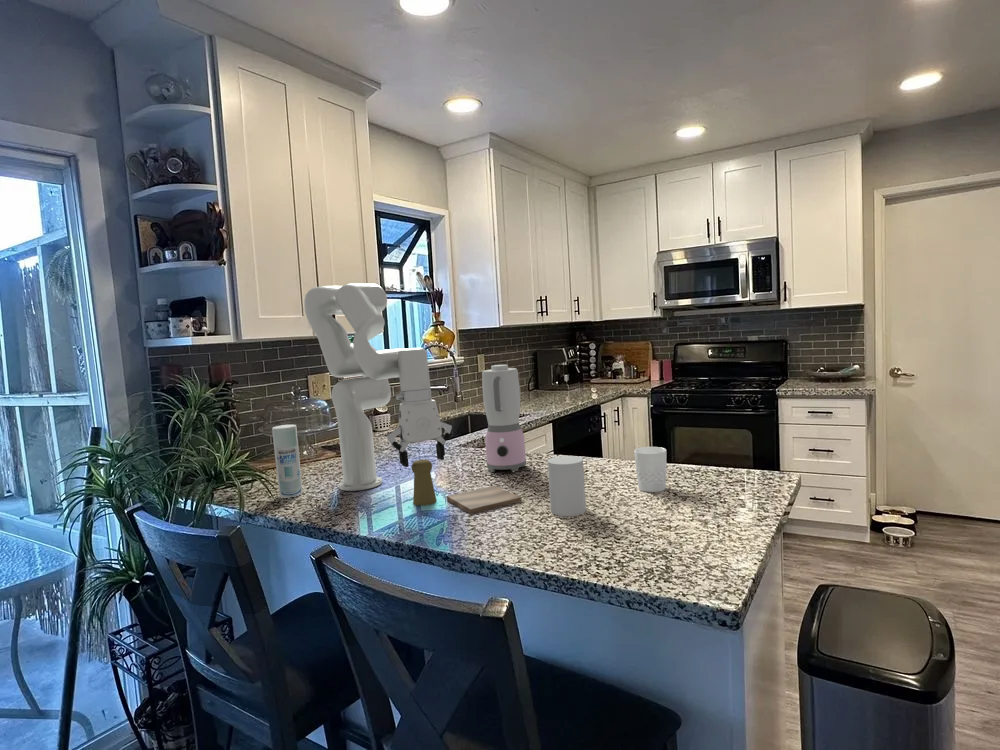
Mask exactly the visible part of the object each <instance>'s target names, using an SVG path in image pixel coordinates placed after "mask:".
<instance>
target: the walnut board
mask: <svg viewBox="0 0 1000 750" xmlns="http://www.w3.org/2000/svg"><path fill="white" fill-rule="evenodd" d="M446 501H447V502H449V503H451V505H454V506H456V507H458V508H460V509H461V510H463V511H464V512H466V513H468V514H470V515H472V514H477V513H481V511H482V512H484V511H485V510H486V511H490V510H494V509H497V508H496V507H498V508H501V506H503V507H505V505H507V506H510V505H509V504H511V505H514V504H513V503H515V504H518V503H517V502H519V503H522V497H521V496H520V495H518V494H514V493H513V492H510V491H508V490H506V489H503V488H501V487H500V486H496V485H491V486H486V487H482V488H477V489H473V490H468V491H463V492H459V493H454V494H450V495H446ZM493 508H494V509H493ZM489 509H490V510H489Z"/></svg>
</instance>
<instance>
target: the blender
mask: <svg viewBox="0 0 1000 750" xmlns="http://www.w3.org/2000/svg"><path fill="white" fill-rule="evenodd" d="M490 367H491V368H490V369H486V370H485V369H484V370H483V371H482V372H481V377H482V378H481V379H482V385H481V387H482V398H483V406H484V412H485V416H486V420H487V424H488V425H487V431H486V433H485V436H484V441H485V442H484V443H485V453H486V454H485V456H486V467H487V468H488V470H489V471H488V472H490V471H491V472H490V473H492V472H494V473H495V472H496V470H510V471H512V472H513V471H518V472H519V468H521V467H524V466H526V465H527V459H526V442H525V435H524V432H523V429H522V428H521V425H520V411H521V389H520V388H521V387H520V379H519V371H518V369H517V368H516V367H515V368H514V367H510V368H509V365H508V364H495V365H491V366H490ZM512 472H511V473H512Z"/></svg>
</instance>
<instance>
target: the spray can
mask: <svg viewBox="0 0 1000 750" xmlns="http://www.w3.org/2000/svg"><path fill="white" fill-rule="evenodd" d="M297 430H298V429H297V424H282V425H275V426H273V427H272V428H271V434H272V441H273V442H272V443H273V451H274V458H275V467H276V468H275V469H276V476H277V485H278V486H277V487H278V494H279V498H280V497H282V498H281V499H283V498H288V499H291V498H290V497H295V498H297V497H296V496H298V497H300V496H299V495H301V494H302V495H303V493H304V492H303V484H302V471H301V462H300V449H299V440H298V431H297ZM302 495H301V496H302Z"/></svg>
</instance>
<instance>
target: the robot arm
mask: <svg viewBox="0 0 1000 750" xmlns="http://www.w3.org/2000/svg"><path fill="white" fill-rule="evenodd" d="M387 305H388V297H387V293H386V291H385V290H384V288H383V287H382V286H380V285H378V284H376V283H346V284H343V285H323V286H321V285H320V286H316V287H312V288H311V289H309V290H308V291H307V292H306V294H305V297H304V312H305V316H306V318H307V321H308V323H309V325H310V327H311V329H312V330H313V332H314V334H315V336H316V338H317V340H318V343H319V346H320V349H321V352H322V355H323V358H324V362H325V365H326V367H327V369H328V371H329V374H330V375H331V376H332V377H334V378H348V377H349V378H348V379H344V380H341V381H338V382H336V384H334V386H333V387H332V390H331V401H332V403H333V407H334V411H335V416H336V422H337V428H338V437H339V448H340V456H341V457H340V458H341V469H342V478H343V480H342V481H340V482H339V483H338V485H337V486H338V489H339V490H341V491H346V492H358V491H364V490H369V489H373V488H376V487H378V486H380V485H382V483H383V478H382V477H381V476H377V468H376V467H377V466H376V459H375V458H376V456H375V446H374V436H373V425H372V423H371V420H370V419H369V418H368V416H367V415H366V414H365V412H364V411H366V410H369V409H376V408H381V407H383V406H386V405H388V403H389V402H390V400H391V398H392V389H391V386H390V382H389V379H397V378H399V386H400V392H399V393H398V394H396V395H395V400H396V401H398V400H399V401H401V403H399V408H398V409H399V410H398V427H397V428H396V429H394V430H392V431H391V432H389V434H387V435H386V439H387V440H388V442H389V443H390V445H391V446H392V447H393V448H395V449H396V450H397V452H398V454H399V463H400V465H402V467H404V468H408V467H409V466H410V465H409V457H408V455H409V454H408V451H406V449H407V448H408V446H409V444H416V443H421V442H422V443H423V442H427V441H433V440H435V441H436V443H435V449H436V458H437V459H438V460H440V461H444V460H445V456H446V450H445V444H446V442H447V440H448V439H449V437H450V433H452V429H453V426H452V425H451V424H448V423H445V422H442V421H441V418H440V413H439V409H438V406H437V402H436V400H435V399H432V389H431V381H430V380H431V379H430V370H429V360H428V353H427V350H426V349H425V348H424V347H411V348H393V349H391V348H390V349H381V350H377V349H376V348H375V347H374V345H372V344H370V340H371V339H373V338H375V337H376V336H378V335H379V334H381V332H382V331H383V330H384V329H383V328H384V327H385V324H386V323H385V318H384V317H383V315H382V314H381V312H383V311H384V310H385V309H386V307H387ZM334 315H344V317H345V318H346V320H347V321H348V323H349V325H350V326H351V328H353V330H354V332H355V333H354V335H353V336H354V337H353V341H352V342H351V340H350V338H349V336H348V332H347V330H346V329H345V327H344V326H343V324H342V323H341V322H340V321H338V320H337V319H335V318H334V317H333V316H334ZM358 376H362V377H358ZM350 377H354V378H350ZM355 377H356V378H355ZM442 429H444V432H442ZM397 436H399V438H400V442H399V443H398V442H397V441H396V437H397Z"/></svg>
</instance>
